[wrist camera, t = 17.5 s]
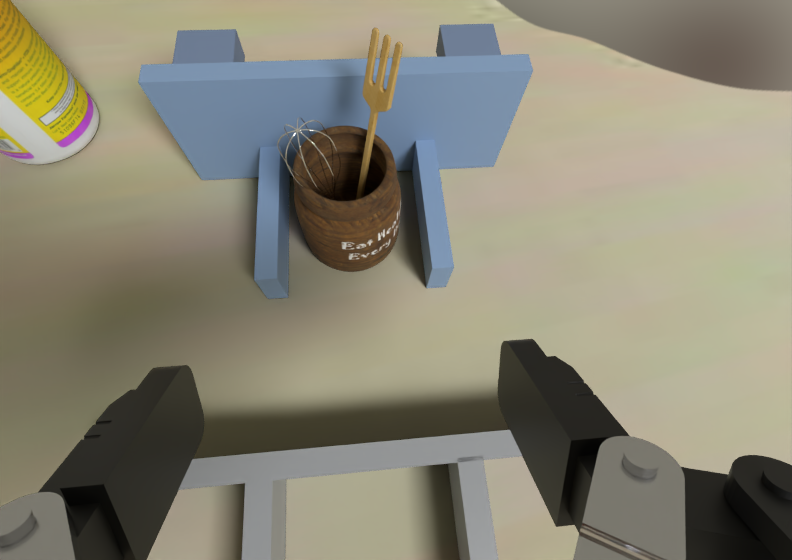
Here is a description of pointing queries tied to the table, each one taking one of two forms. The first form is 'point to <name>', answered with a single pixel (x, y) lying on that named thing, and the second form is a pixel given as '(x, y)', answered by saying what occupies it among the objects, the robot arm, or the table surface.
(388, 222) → the utensil holder
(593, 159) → the table surface
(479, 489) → the grey rail with prongs
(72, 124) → the supplement bottle
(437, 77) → the blue rail with prongs
